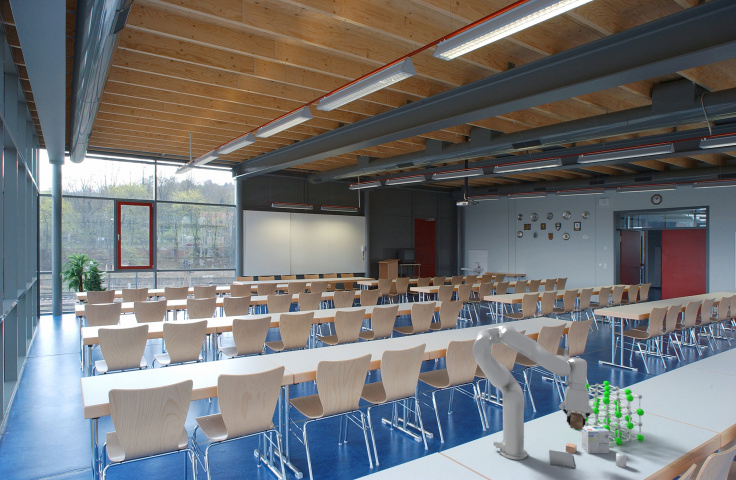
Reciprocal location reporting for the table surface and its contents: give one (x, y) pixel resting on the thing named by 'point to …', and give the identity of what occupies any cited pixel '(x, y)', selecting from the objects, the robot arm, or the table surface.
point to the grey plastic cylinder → (621, 460)
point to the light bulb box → (595, 439)
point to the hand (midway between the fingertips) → (575, 424)
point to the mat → (561, 459)
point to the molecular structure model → (616, 414)
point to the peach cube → (571, 448)
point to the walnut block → (576, 420)
